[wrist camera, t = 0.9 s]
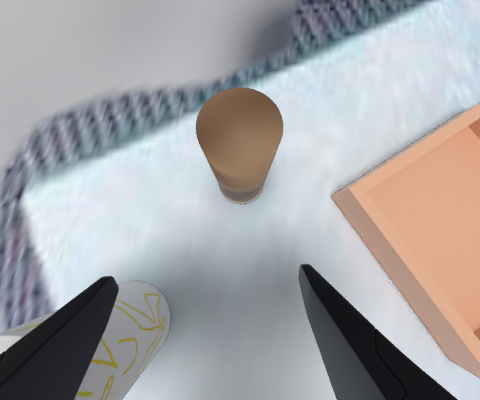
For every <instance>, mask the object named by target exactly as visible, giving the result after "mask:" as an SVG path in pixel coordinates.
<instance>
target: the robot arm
mask: <svg viewBox="0 0 480 400" xmlns="http://www.w3.org/2000/svg"><path fill="white" fill-rule="evenodd" d="M299 283H300V287H301V292H302V296H303V300H304V304H305V309H306V312H307V316H308V319H309V322H310V325H311V327H312V330H313V333H314V336H315V339H316V342H317V345H318V348H319V350H320V353H321V356H322V359H323V362H324V365H325V368H326V370H327V373H328V376H329V379H330V382H331V385H332V388H333V390H334V393H335V396H336V399H337V400H457V399H456V398H455V397H454V396H453V395H451V394H450V393H449V392H448V391H447V390H446V389H444V388H443V387H442V386H441V385H440V384H438V383H437V382H436V381H435V380H434V379H432V378H431V377H430V376H429V375H428V374H426V373H425V372H424V371H423V370H422V369H420V368H419V367H418V366H417V365H416V364H415V363H413V362H412V361H411V360H410V359H409V358H408V357H407V356H405V355H404V354H403V353H402V352H401V351H400V350H399V349H398V348H396V347H395V346H394V345H393V344H392V343H391V342H390V341H389V340H388V339H387V338H386V337H385V336H384V335H383V334H381V333H380V332H379V331H378V330H377V329H375V327H374V326H373V325H372V324H371V323H370V322H369V321H368V320H367V319H366V318H365V317H364V316H363V315H362V314H361V313H360V312H359V311H357V310H356V309H355V308H354V307H353V306H352V305H351V304H350V303H349V302H348V301H347V300H346V299H345V298H344V297H343V296H342V295H341V294H340V293H339V292H338V291H337V290H336V289H335V288H334V287H333V286H331V285H330V284H329V283H328V282H327V281H326V280H325V279H324V278H323V277H322V276H321V275H320V274H319V273H318V272H317V271H316V270H315V269H314V268H313V267H312V266H311V265H309V264H301V265H300V268H299ZM118 292H119V287H118V285H117V283H116V281H115V279H114V278H113V277H112V276H104V277H102V278H100V279H99V280H97V281H96V282H95V283H93V284H92V285H91V286H90V287H88V288H87V289H86V290H84V291H83V292H82V293H80V294H79V295H78V296H76V297H75V298H74V299H72V300H71V301H70V302H68V303H67V304H66V305H64V306H63V307H62V308H61V309H59V310H58V311H57V312H55V313H54V314H53V315H51V316H50V317H49V318H47V319H46V320H45V321H43V322H42V323H41V324H39V325H38V326H37V327H35V328H34V329H33V330H32V331H30V332H29V333H28V334H26V335H25V336H24V337H22V338H21V339H20V340H18V341H17V342H16V343H14V344H13V345H12V346H10V347H9V348H8V349H7V350H6V351H4V352H2V353H1V354H0V400H74V399H75V397H76V395H77V392H78V390H79V388H80V386H81V383H82V381H83V379H84V377H85V374H86V372H87V370H88V368H89V365H90V363H91V361H92V359H93V356H94V354H95V352H96V349H97V347H98V345H99V343H100V340H101V338H102V336H103V334H104V331H105V329H106V327H107V324H108V321H109V319H110V316H111V313H112V310H113V307H114V304H115V301H116V298H117V295H118Z"/></svg>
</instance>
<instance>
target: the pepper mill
mask: <svg viewBox="0 0 480 400" xmlns="http://www.w3.org/2000/svg"><path fill="white" fill-rule="evenodd" d="M196 134H197V139H198V141H199V144H200V146H201V148H202V150H203V152H204V154H205V156H206V158H207V160H208V163H209V165H210V167H211V169H212V171H213V173H214V175H215V177H216V179H217V181H218V183H219V186H220V189H221V191H222V193H223V195H224V196H225V197H226V198H227V199H228V200H229V201H231V202H233V203H236V204H247V203H250V202H252V201H254V200H255V199H256V198H257V197H258V196H259V195H260V193H261V191H262V189H263V186H264V182H265V179H266V176H267V174H268V171H269V169H270V166H271V164H272V161H273V159H274V156H275V154H276V151H277V149H278V146H279V144H280V141H281V138H282V135H283V120H282V116H281V113H280V111H279V109H278V107H277V106H276V104H275V103H274V102H273V101H272V100H271V99H270V98H269V97H267V96H266V95H265V94H263V93H261V92H259V91H256V90H254V89H250V88H239V87H238V88H230V89H226V90H223V91H221V92H219V93H217V94H215V95H214V96H212V97H211V98H210V99H209V100H208V101H207V102H206V103H205V104H204V105H203V107H202V108H201V110H200V112H199V115H198V117H197V122H196Z"/></svg>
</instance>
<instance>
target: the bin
mask: <svg viewBox="0 0 480 400" xmlns="http://www.w3.org/2000/svg"><path fill="white" fill-rule="evenodd" d="M331 198H332V199H333V200H334V202H335V203H336V204H337V206H338V207H339V209H340V210H341V211H342V213H343V214H344V215H345V217H346V218H347V220H348V221H349V222H350V224H351V225H352V226H353V228H354V229H355V231H356V232H357V233H358V235H359V236H360V237H361V239H362V240H363V242H364V243H365V244H366V246H367V247H368V249H369V250H370V251H371V253H372V254H373V255H374V257H375V258H376V260H377V261H378V262H379V264H380V265H381V266H382V268H383V269H384V271H385V272H386V273H387V275H388V276H389V277H390V279H391V280H392V282H393V283H394V284H395V286H396V287H397V288H398V290H399V291H400V293H401V294H402V295H403V297H404V298H405V299H406V301H407V302H408V304H409V305H410V306H411V308H412V309H413V311H414V312H415V313H416V315H417V316H418V317H419V319H420V320H421V322H422V323H423V324H424V326H425V327H426V328H427V330H428V331H429V333H430V334H431V335H432V337H433V338H434V339H435V341H436V342H437V344H438V345H439V346H440V348H441V349H442V350H443V352H444V353H445V355H446V356H447V357H448V359H449V360H450V361H452V362H454V363H455V364H457V365H458V366H460V367H462V368H463V369H465V370H467V371H468V372H470V373H472V374H473V375H475V376H477V377H478V378H480V102H479V103H477V104H475V105H474V106H472V107H470V108H468V109H467V110H465V111H463V112H461V113H459V114H458V115H456V116H455V117H453V118H452V119H450V120H449V121H447V122H446V123H444V124H442V125H441V126H439V127H438V128H436V129H435V130H433V131H432V132H430V133H428V134H427V135H425V136H424V137H422V138H421V139H419V140H418V141H416V142H414V143H413V144H411V145H410V146H408V147H407V148H405V149H404V150H402V151H401V152H399V153H397V154H396V155H394V156H393V157H391V158H390V159H388V160H387V161H385V162H383V163H382V164H380V165H379V166H377V167H376V168H374V169H373V170H371V171H369V172H368V173H366V174H365V175H363V176H362V177H360V178H359V179H357V180H356V181H354V182H352V183H351V184H349V185H348V186H346V187H345V188H343V189H342V190H340V191H338V192H337V193H335V194H334V195H332V196H331Z"/></svg>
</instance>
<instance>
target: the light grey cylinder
mask: <svg viewBox="0 0 480 400" xmlns="http://www.w3.org/2000/svg"><path fill="white" fill-rule="evenodd" d="M118 287H119V292H118V295H117V298H116V301H115V304H114V307H113V310H112V313H111V316H110V319H109V321H108V324H107V327H106V329H105V331H104V334H103V336H102V338H101V340H100V343H99V345H98V347H97V349H96V352H95V354H94V356H93V359H92V361H91V363H90V365H89V368H88V370H87V372H86V374H85V377H84V379H83V381H82V383H81V386H80V388H79V390H78V392H77V395H76V397H75V399H74V400H122V399H123V398H124V397H125V395H126V394H127V393H128V391H129V390H130V389H131V387H132V386H133V384H134V383H135V382H136V380H137V379H138V378H139V376H140V375H141V374H142V372H143V371H144V369H145V368H146V367H147V365H148V364H149V363H150V361H151V360H152V359H153V357H154V356H155V354H156V353H157V352H158V350H159V349H160V348H161V346H162V345H163V343H164V342H165V340H166V338H167V335H168V332H169V328H170V320H171V317H170V309H169V305H168V303H167V301H166V299H165V297H164V295H163V294H162V293H161V292H160V291H159V290H158V289H157V288H156V287H154V286H153V285H151V284H149V283H146V282H142V281H130V282H126V283H123V284H121V285H118ZM57 311H58V310H56V311H54V312H51V313H49V314H47V315H44V316H42V317H39V318H37V319H34V320H32V321H29V322H27V323H24V324H22V325H19V326H17V327H14V328H12V329H9V330H7V331H4V332H2V333H0V354H1V353H2V352H4V351H6V350H7V349H8V348H9V347H10V346H12V345H13V344H14V343H16V342H17V341H18V340H20V339H21V338H22V337H24V336H25V335H26V334H28V333H29V332H30V331H32V330H33V329H34V328H35V327H37V326H38V325H39V324H41V323H42V322H43V321H45V320H46V319H47V318H49V317H50V316H51V315H53V314H54V313H55V312H57Z"/></svg>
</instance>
